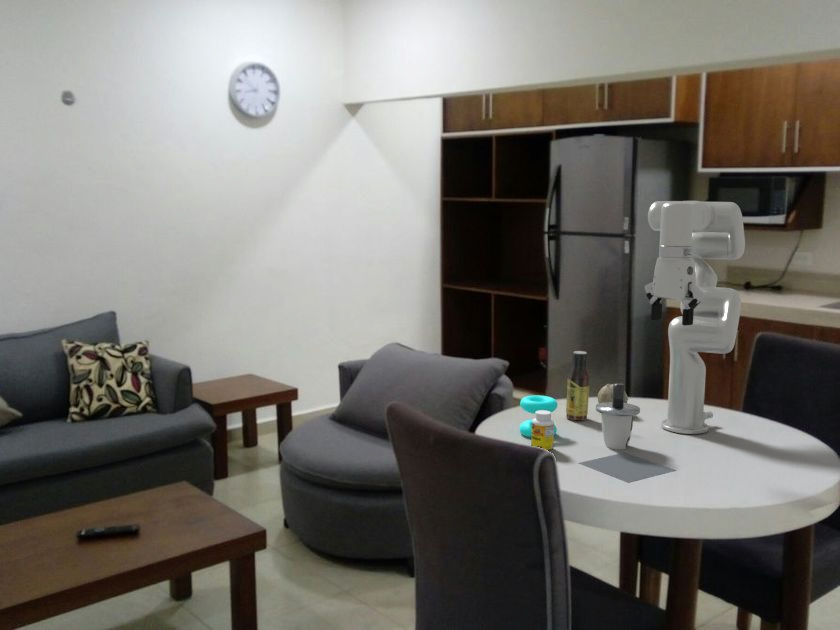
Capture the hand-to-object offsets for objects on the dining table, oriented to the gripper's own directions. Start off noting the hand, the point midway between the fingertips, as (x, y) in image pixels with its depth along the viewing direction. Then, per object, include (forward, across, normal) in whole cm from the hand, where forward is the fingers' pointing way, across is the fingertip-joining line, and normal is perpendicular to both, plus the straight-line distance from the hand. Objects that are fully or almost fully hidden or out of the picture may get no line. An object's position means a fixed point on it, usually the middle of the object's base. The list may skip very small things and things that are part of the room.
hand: (671, 322), depth 203 cm
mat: (+33, -4, +18) cm, 38 cm away
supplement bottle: (+34, +17, +26) cm, 46 cm away
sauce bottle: (+34, +35, -3) cm, 49 cm away
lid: (+23, +9, +8) cm, 26 cm away
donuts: (+34, +29, +17) cm, 48 cm away
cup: (+34, +9, +8) cm, 36 cm away
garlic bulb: (+34, +35, -17) cm, 51 cm away
